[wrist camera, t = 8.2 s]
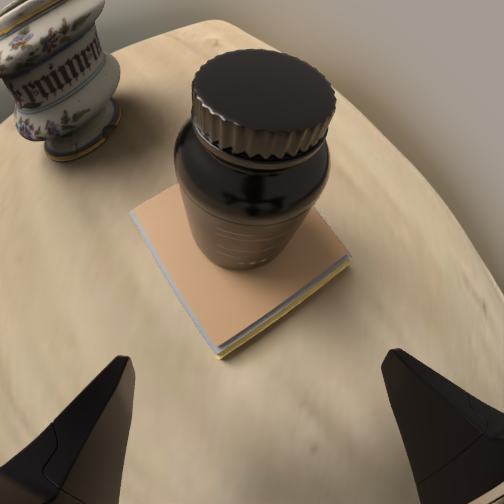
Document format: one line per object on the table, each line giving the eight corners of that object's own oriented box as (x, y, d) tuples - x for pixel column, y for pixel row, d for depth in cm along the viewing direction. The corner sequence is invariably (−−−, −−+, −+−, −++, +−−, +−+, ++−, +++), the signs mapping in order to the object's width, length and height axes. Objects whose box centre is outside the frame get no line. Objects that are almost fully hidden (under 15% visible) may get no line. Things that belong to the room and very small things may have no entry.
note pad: (218, 358, 18) (218, 361, 16) (135, 222, 21) (125, 208, 18) (344, 267, 22) (358, 258, 19) (256, 156, 24) (260, 137, 22)
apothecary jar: (95, 178, 22) (11, 14, 5) (22, 164, 21) (-53, 56, 4) (149, 94, 26) (129, -47, 9) (74, 91, 25) (37, -16, 8)
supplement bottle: (186, 188, 19) (164, 41, 8) (277, 178, 20) (324, 41, 9) (196, 281, 17) (158, 172, 6) (299, 265, 18) (399, 158, 7)
